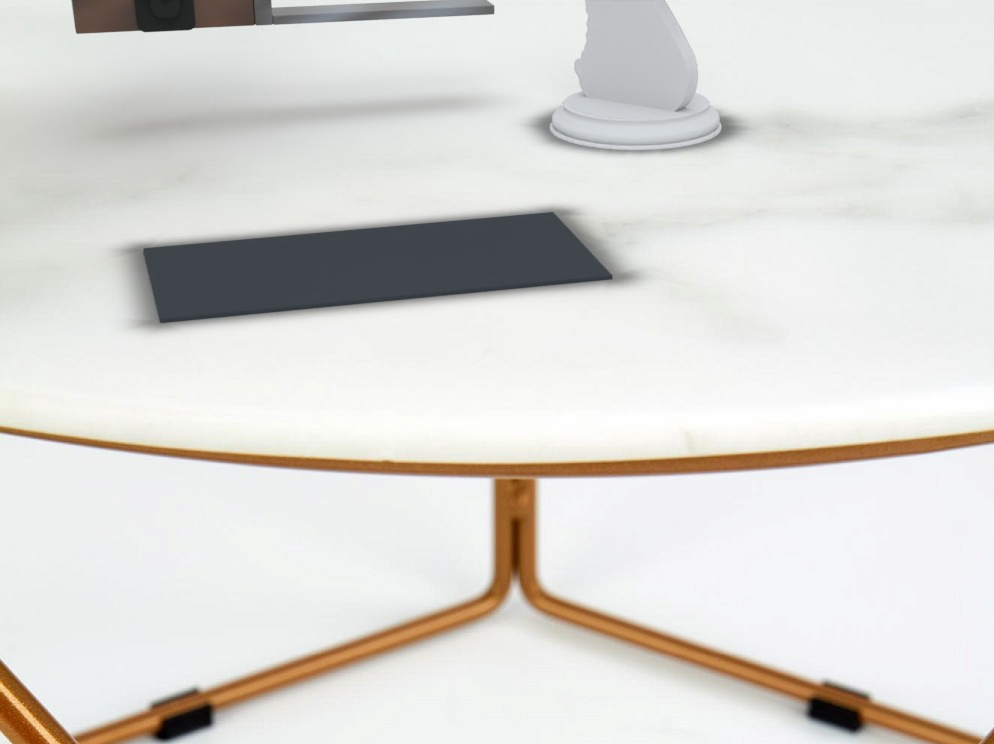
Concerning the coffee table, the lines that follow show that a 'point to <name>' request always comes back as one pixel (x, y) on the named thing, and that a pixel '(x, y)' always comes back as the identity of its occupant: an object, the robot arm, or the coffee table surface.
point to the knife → (268, 13)
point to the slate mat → (366, 266)
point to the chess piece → (635, 82)
